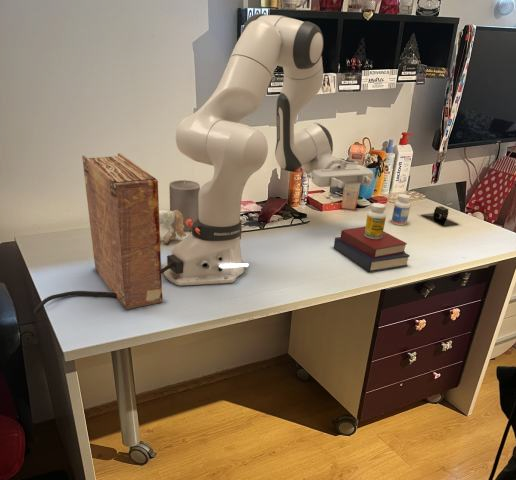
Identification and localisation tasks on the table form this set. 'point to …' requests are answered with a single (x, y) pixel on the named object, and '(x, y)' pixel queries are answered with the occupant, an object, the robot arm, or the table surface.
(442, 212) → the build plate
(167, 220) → the unicorn figurine
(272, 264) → the table surface
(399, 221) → the pill bottle
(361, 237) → the book stack
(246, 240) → the table surface
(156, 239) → the book
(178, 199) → the pillar candle
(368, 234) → the supplement bottle
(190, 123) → the robot arm
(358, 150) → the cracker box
